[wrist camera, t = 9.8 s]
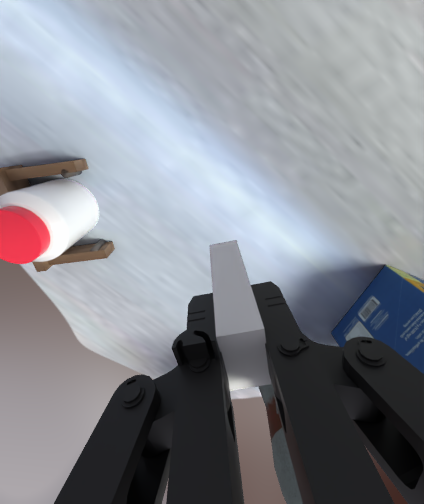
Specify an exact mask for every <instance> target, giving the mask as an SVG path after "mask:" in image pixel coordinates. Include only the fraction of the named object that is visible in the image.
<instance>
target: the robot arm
mask: <svg viewBox="0 0 424 504" xmlns="http://www.w3.org/2000/svg"><path fill="white" fill-rule="evenodd" d="M209 246H210V260H211V273H212V287H213V293H210V294H204V295H199V296H193V298H192V300H191V301H190V303H189V305H188V317H187V330H186V331H184V332H183V333H181V334H180V335H179V336H178V337H177V338H176V339H175V341H174V343H173V346H172V350H173V353H174V355H175V358H176V360H177V363H178V366H176V367H175V368H174V369H173V370H172V371H170V372H168V373H167V374H165V375H162V376H160V377H158V378H156V379H154V380H152V379H151V378H150V376H146V375H135V376H133V377H131V378H129V379H127V380H126V381H124V382H123V383H122V384H121V385H120V386H119V387H118V388H117V390H116V391H115V393H114V394H113V396H112V398H111V400H110V401H109V403H108V405H107V407H106V409H105V411H104V412H103V414H102V416H101V418H100V420H99V422H98V423H97V425H96V427H95V429H94V431H93V433H92V434H91V436H90V438H89V440H88V442H87V444H86V445H85V447H84V449H83V451H82V453H81V455H80V457H79V458H78V460H77V462H76V464H75V466H74V467H73V469H72V471H71V473H70V475H69V477H68V478H67V480H66V482H65V484H64V486H63V488H62V490H61V491H60V493H59V495H58V497H57V499H56V501H55V502H54V504H162V500H163V496H164V493H165V489H166V485H167V481H168V478H169V481H168V491H167V503H166V504H244V499H243V489H242V481H241V473H240V463H239V455H238V446H237V438H236V430H235V421H234V413H233V406H232V402H231V398H230V391H233V390H239V389H245V388H251V387H257V386H264V385H270V384H271V382H272V386H273V389H274V395H275V403H276V411H277V414H279V417H280V420H281V424H282V428H283V431H284V435H285V439H286V443H287V446H288V450H289V454H290V457H291V461H292V465H293V469H294V472H295V476H296V480H297V483H298V487H299V491H300V494H301V498H302V502H303V504H394V502H393V500H392V498H391V496H390V494H389V492H388V490H387V489H386V487H385V485H384V483H383V481H382V479H381V477H380V475H379V473H378V471H377V469H376V467H375V465H374V463H373V461H372V459H371V457H370V455H369V453H368V452H367V450H366V448H367V449H368V450H369V452H370V453H371V455H372V456H373V457H374V459H375V460H376V461H377V463H378V464H379V465H380V466H381V468H382V469H383V471H384V472H385V473H386V474H387V476H388V477H389V479H390V480H391V481H392V482H393V484H394V485H395V487H396V488H397V489H398V490H399V492H400V493H401V495H402V496H403V497H404V499H405V500H406V501H407V503H408V504H424V374H423V373H422V372H421V371H419V370H418V369H417V368H416V367H414V366H413V365H412V364H411V363H409V362H408V361H407V360H406V359H405V358H403V357H402V356H401V355H400V354H398V353H397V352H396V351H395V350H393V349H392V348H391V347H390V346H388V345H386V344H385V343H383V342H382V341H379V340H377V339H374V338H371V337H361V336H360V337H355V338H351V339H350V340H348V341H347V342H346V343H345V345H344V347H337V346H327V345H322V344H318V343H315V342H313V341H311V340H309V339H308V338H307V337H306V336H305V335H303V334H302V332H301V331H300V329H299V327H298V325H297V323H296V321H295V319H294V317H293V315H292V313H291V311H290V309H289V307H288V305H287V304H286V301H285V299H284V297H283V295H282V293H281V291H280V289H279V287H278V286H276V285H275V284H274V283H272V282H271V281H270V282H265V283H260V284H254V285H250V282H249V279H248V275H247V272H246V269H245V266H244V263H243V260H242V256H241V253H240V250H239V247H238V244H237V241H236V240H234V241H229V242H224V243H219V244H213V245H209ZM229 388H230V389H229ZM364 445H365V446H364ZM365 447H366V448H365Z"/></svg>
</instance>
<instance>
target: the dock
mask: <svg viewBox="0 0 424 504" xmlns="http://www.w3.org/2000/svg"><path fill="white" fill-rule="evenodd" d="M86 169H88V166H87V163H86V160H85V159H80V160H73V161H66V162H58V163H51V164H44V165H37V166H29V167H23V166H22V165H17V166H10V167H3V168H0V196H1V195H2V194H5V193H8V192H11V191H14V190H18V189H22V188H25V187H29V186H31V185H30V182H29V180H28V178H36V177H43V176H50V175H58V174H61V175H62V176H63V177H64V178H68V177H72V176H75V175H79V174H81V173H82V170H86ZM114 249H115V248H114V245H113V242H112V241H111V242H106V241H105V240H103V239H101V240H100V241H98V242H97V243H95V244H87V245H79V246H71V247H70V248H69V249H67V250H66V251H65V252H64V253H62V254H61V255H60V256H58V257H56V258H55V259H52V260H49V261H44V262H34V261H32V262H33V264H34V266H35V268H36V270H37V272H40V271H46V270H48V269H49V268H50V267H51V266H52V265H55V264H63V263H71V262H79V261H87V260H95V259H104V258H108V256H109V255H110V254H111V253H112V251H113V250H114Z"/></svg>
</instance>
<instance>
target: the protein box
mask: <svg viewBox="0 0 424 504" xmlns="http://www.w3.org/2000/svg"><path fill="white" fill-rule="evenodd" d="M331 334H332V335H333V337H334V339H335V340H336V342H337V343H338V345H339V346H340V347H344V345H345V343H346V342H347V341H348V340H350V339H351V338H355V337H360V336H361V337H371V338H374V339H377V340H379V341H382V342H383V343H385V344H386V345H388V346H390V347H391V348H392V349H393V350H395V351H396V352H397V353H398V354H400V355H401V356H402V357H403V358H405V359H406V360H407V361H408V362H409V363H411V364H412V365H413V366H414V367H416V368H417V369H418V370H419V371H421V372H422V373H423V374H424V280H422V279H420V278H417V277H415V276H413V275H410V274H408V273H405V272H403V271H400V270H398V269H396V268H393V267H391V266H388V265H385V266H384V267H383V269H382V270H381V271H380V272H379V274H378V275H377V276H376V277H375V279H374V280H373V281H372V282H371V284H370V285H369V286H368V288H367V289H366V290H365V291H364V292H363V294H362V295H361V296H360V297H359V299H358V300H357V301H356V302H355V304H354V305H353V306H352V307H351V309H350V310H349V311H348V312H347V314H346V315H345V316H344V317H343V319H342V320H341V321H340V322H339V324H338V325H337V326H336V327H335V329H334V330H333V331H332V333H331Z"/></svg>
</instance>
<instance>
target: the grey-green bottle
mask: <svg viewBox="0 0 424 504" xmlns="http://www.w3.org/2000/svg"><path fill="white" fill-rule="evenodd" d="M259 389H260V392H261V395H262V398H263V400H264V403H265V406H266V410H267V416H268V423H269V429H270V436H271V442H272V450H273V458H274V467H275V471H276V474H277V477H278V481H279V483H280V487H281V491H282V494H283V496H284V498H285V501H286V503H287V504H303V502H302V498H301V494H300V491H299V487H298V483H297V480H296V476H295V472H294V469H293V465H292V461H291V457H290V454H289V450H288V446H287V443H286V439H285V435H284V431H283V428H282V424H281V420H280V417H279V414H277V411H276V403H275V395H274V389H273V386H272V382H271V384H270V385H264V386H259Z"/></svg>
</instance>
